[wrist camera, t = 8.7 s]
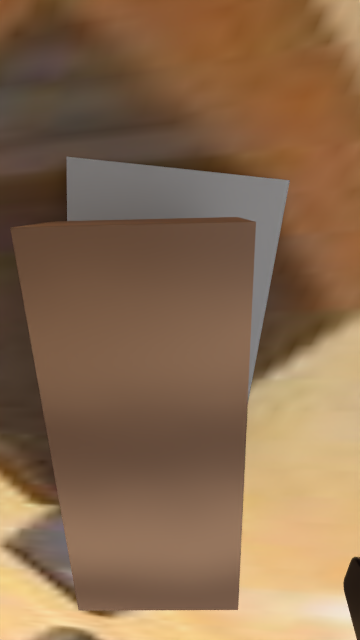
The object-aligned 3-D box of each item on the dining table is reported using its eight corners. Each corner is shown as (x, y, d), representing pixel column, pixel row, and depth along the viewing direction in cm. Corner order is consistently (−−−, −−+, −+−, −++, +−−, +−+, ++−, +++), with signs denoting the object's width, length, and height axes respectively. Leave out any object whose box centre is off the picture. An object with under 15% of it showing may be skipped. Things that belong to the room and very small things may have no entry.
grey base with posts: (280, 182, 17) (337, 170, 11) (228, 473, 23) (244, 575, 16) (76, 160, 17) (13, 135, 10) (76, 460, 22) (35, 558, 16)
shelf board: (228, 536, 16) (238, 609, 13) (97, 536, 16) (78, 610, 13) (237, 216, 11) (256, 221, 8) (54, 221, 11) (10, 227, 8)
